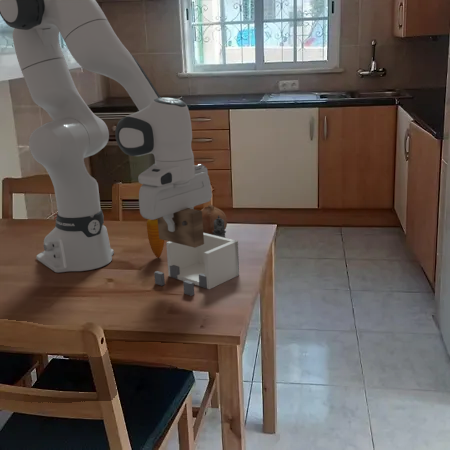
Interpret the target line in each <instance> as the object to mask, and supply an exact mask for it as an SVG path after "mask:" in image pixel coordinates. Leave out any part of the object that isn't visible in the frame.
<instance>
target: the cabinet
mask: <svg viewBox="0 0 450 450" xmlns="http://www.w3.org/2000/svg"><path fill="white" fill-rule="evenodd" d="M203 235H204V244H203V245H201V246H198V247H196V248H194V247H190V246H186V245H182V244H178V243H174V242H170V241H166V242H165V244H166V245H165V246H166V257H167V271H168V272H167V273H168V277H170V278H172V279H176V280H179V281H182V282H183V283H182V285H183V294H185V295H187V296H190V297H192V296H194V295H195V286H199V287H201V288H204V289H206V290H211V289H213V288H215V287H217V286H219V285H221V284H223V283H226V282H228V281H229V280H231V279H234V278H236V277H238V276H240V267H239V265H240V262H239V260H240V259H239V257H240V256H239V241H238V240H235V239H230V238H228V237H225V238H223V237H219V236H215V235H211V234H207V233H203ZM153 273H154V274H153V275H154V282H155V285H159V286H161V287H163V286H165V285H166V282H165V281H166V280H165V273H164V272H162V271H158V270H156V271H154V272H153Z"/></svg>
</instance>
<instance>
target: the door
mask: <svg viewBox="0 0 450 450" xmlns="http://www.w3.org/2000/svg"><path fill="white" fill-rule="evenodd" d="M173 216H174V217H173V218H172V220H173V221H174V223H177V228H178V230H176V231H174V232H171V231H169V230H168V224H167V223H166V221H165V220H164V218H163V217H160V218H157V219H158V230H159V239H162V240H164V241H166V242H169V241H170V242H174V243H178V244H182V245H186V246H190V247H194V248H196V247H198V246H201V245H203V244H204V235H203V221H202V211H201V210H200V209H190V208H187V209H184V210H181V211H178V212H175V213H173Z"/></svg>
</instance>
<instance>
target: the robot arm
mask: <svg viewBox="0 0 450 450" xmlns="http://www.w3.org/2000/svg"><path fill="white" fill-rule="evenodd" d="M0 17H1V18H2V20H3V21H4V23H5V24H6V25H7V26H9V27H11V29H12V28H13V32H12V40H13V45H14V46H13V47H14V51H15V54H16V59H17V61H18V65H19V68H20V71H21V73H22V76H23V79H24V81H25V84H26V86H27V89H28V92H29V94H30V97H31V100H32V102H33V103H34V104H35V105H37V106H38V107H40V108H41V109H43V110H44V111H45V112H46V113H47V115H48V116H49V117H50V119H51V120H52V121H48V122H46V123H44V124H41V125H40V126H38V127H37V128H35V129H34V130H33V131H32V132H31V134H30V136H29V138H28V147H29V152H30V154H31V156H32V158H33V160H35V161H36V162H37V163H38V164H40V165H42V167H43V168H44V169H45V170H46V172H47V173H48V175H49V177H50V180H51V182H52V185H53V191H54V195H55V200H56V201H55V202H56V208H57V213H55V214H53V216H55V217H53V219H54V220H55V226H54V228H53V229H52V230H51V231H50V232H49V233H48V234H47V235H46V236H44V240H43V249H44V251H41V252H40V253H38V254H37V255H36V260H37V261H39V262H40V263H41V264H43V265H44V266H46V267H47V268H49V269H50V271H51V270H52V271H53V272H55V273H65V272H84V271H91V270H95V269H100V268H103V267H105V266H107V265H108V264H109V263H111V261H112V260H113V255H114V253H115V251H114V249H113V248H111V245H110V239H109V234H108V233H109V232H108V230H107V226H105V225H104V217H105V216H104V213H103V209H101V199H100V193H99V182H97V179H95V178H94V177H93V176H92V175H90V173H89V171H88V168H87V167H86V164H85V159H86V158H89V157H91V156H94V155H96V154H98V153H99V152H100V151H101V150H102V149H104V148H105V147H106V146H107V144H108V142H109V139H110V131H109V129H108V125H107V124H106V122H105V121H104V120H103V119H102V118H100V117H99V116H97V115H96V114H94V112H93V111H92V110H91V108H90V107H89V106H88V104H87V102H85V100H84V99H83V97H82V96H81V94H80V93H79V90H78V89H77V86H76V84H75V82H74V79H73V76H72V74H71V72H70V70H69V69H70V68H69V67H68V64H67V61H66V59H65V58H66V57H65V56H64V53H63V51H62V48H61V46H60V42H59V34H60V35H61V37H62V39H63V42H64V44H65V45H66V47H67V49H68V51H69V53H70V54H71V56H72V58H73V59H74V60H75V62H76V63H77V64H78V65H79V66H80V67H81V68H83V69H84V70H86V71H88V72H90V73H94V74H98V75H101V76H104V77H107V78H109V79H111V80H114V81H115V82H117V83H118V84H120V85H121V86H122V87H123V88H124V89H125V91H126V93H127V94H128V95H129V97H130V99H131V100H132V102H133V104H135V106H136V108H137V111H136V112H134V113H130V114H128V115H126V116H124V117H122V118H121V119H119V120H118V122H117V125H116V127H115V134H114V135H115V141H116V144H117V146H118V147H119V149H120V150H121V151H122V152H123V153H124V154H125V155H128V156H130V157H142V156H146V155H149V154H152V155H153V156H154V163H153V164H152V165H150V167H148V168H147V169H145V170H144V171H143V172H141V173H139V174H138V180H137V181H138V183H139V184H140V185H141V186H140V188H139V191H138V204H139V213H140V215H141V217H142V218H143V219H147V220H148V219H150V220H154V219H157V218H160V217H163V218H164V220H165V221H166V223H167V224H168V230H169V231H171V232H174V231H176V230H178V228H177V223H174V221H173V220H172V218H173V217H174V216H173V213H175V212H178V211H181V210H184V209H187V208H190V209H194V208H195V207H197V206H200V205H202V204H206V203H208V202H211V199H212V197H213V191H212V185H211V180H210V175H209V172H208V168H207V167H206V165H205V164H203V163H198V164H197V165H195V156H194V151H193V149H192V141H193V130H192V128H193V127H192V120H191V115H190V110H189V107H188V105H187V103H186V102H185V101H183V100H182V99H180V98H175V97H164V96H163V97H162V96H161V95H160V94H159V92H158V91H157V89H156V87H155V86H154V84H153V83H152V81H151V80H150V78H149V77H148V75H147V74H146V72H145V71H144V69H143V67H142V66H141V64H140V63H139V61H138V60H137V59H136V57H135V56H134V55H133V54H132V53H131V52H130V51H129V50H128V49H127V48H126V46H125V44H123V42H122V41H121V40H120V38H119V37H118V36H117V34H116V31H114V29H113V27H112V25H111V23H110V22H109V20H108V17H107V16H106V15H105V13H104V11H103V9H102V8H101V6H100V5H99V3H98V2H97V0H0Z"/></svg>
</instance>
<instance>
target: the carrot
mask: <svg viewBox="0 0 450 450" xmlns="http://www.w3.org/2000/svg"><path fill="white" fill-rule="evenodd" d="M146 232H147V238H148V242H149V245H150V246H149V247H150V249H151V251H152V253H153V255H154V256H155V257H156V258H157V259H159V258H161V255H162V253H163V250H164V247H165V240H162V239H159V230H158V219H154V220H150V219H147V221H146Z"/></svg>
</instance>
